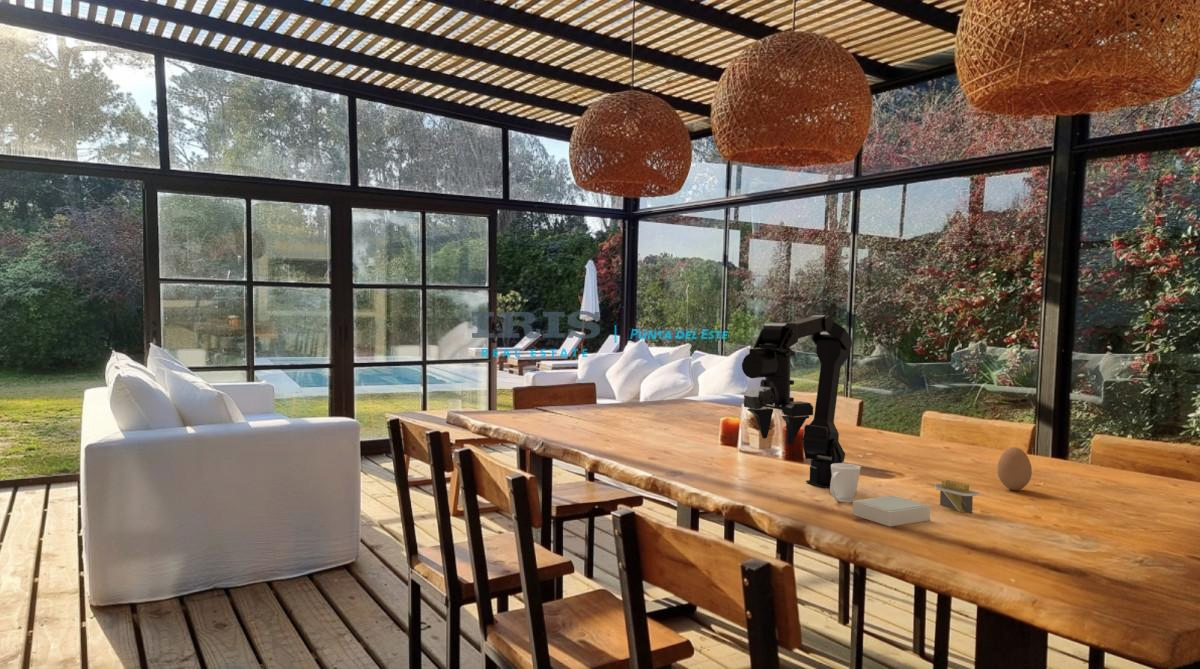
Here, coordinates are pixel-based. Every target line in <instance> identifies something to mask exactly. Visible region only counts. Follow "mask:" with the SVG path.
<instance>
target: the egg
mask: <svg viewBox="0 0 1200 669" xmlns="http://www.w3.org/2000/svg"><path fill="white" fill-rule="evenodd" d="M996 469H997V476H998V478H999V481H1000V482H1001V483H1002V485H1003V486H1004V487H1005V488H1007V489H1009V490H1011V491H1020V490H1022V489H1024V488H1025V487H1027V485H1028V484H1029V483H1030V482H1031V480H1032V475H1033V474H1032V473H1033V472H1032V471H1033V470H1032V463H1031V461H1030V459H1029V456H1028V455H1027V453H1026V452H1025V451H1024V450H1023V449H1021V448H1019V447H1016V446H1013V447H1009V448H1008V449H1005V450H1004V451H1003V453H1001V456H1000V458H999V459H998V462H997V468H996Z"/></svg>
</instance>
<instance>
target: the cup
mask: <svg viewBox="0 0 1200 669" xmlns="http://www.w3.org/2000/svg"><path fill="white" fill-rule="evenodd" d="M861 468H862V466H861V465H857V464H854V463H844V462H842V463H835V464H832V465H831V472H832V478H831V483H830V487H829V492H830V495H831V497H832V498H833V499H834V501H836V502H838V503H853V501H855V496H856V493H857V489H858V485H859V478H860V474H861Z"/></svg>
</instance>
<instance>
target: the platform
mask: <svg viewBox="0 0 1200 669" xmlns="http://www.w3.org/2000/svg"><path fill="white" fill-rule="evenodd" d="M935 489H936V490H937V491H940V492H939V493H940V497H939V505H940V506H942V507H946V508H950V509H954V510H957V511H958V512H959V513H964V512H966V513H969V514H973V503H974V502H973V499H974V498H973V497H978V496H980V493H979V491H973V490H970V484H966V483H963V482H959V481H958V482H957V481H953V480H949V479H945V480H941V483H937V484H935Z"/></svg>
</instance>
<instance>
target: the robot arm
mask: <svg viewBox="0 0 1200 669" xmlns="http://www.w3.org/2000/svg"><path fill="white" fill-rule="evenodd" d="M808 336H811V337H810V340H811V341H812V343H814V345H815V354H816V356H817V359H818V361H819V363H820V369H819V377H818V383H817V385H818V386H817V393H816V399H815V406H813V404H812V403H811V402H807V401H801V400H800V401H799V400H798V401H797V400H796V401H795V398H794V397H792V396H791V386H793V385H795V380H793V379H791V357H795V356H796V352H795V351H794V350H792V349H791V348H792V347H793V346H794V345H795V344H797V343H798V342H799V339H801V338H805V337H808ZM852 347H853V339H852V337H851V336H850V334H849V333H848V331H847V329H845V328H844V327H843V326H841V325H840V324H838V323H836V322H835V321H834V320H833V318H832V317H831V316H829V315H827V314H826V315H825V314H813V315H810V316H809V317H805V318H801V319H797V320H793V321H790V322H766V323H764V324H763V326H762V328H761V329H760V332H759V334H758V336H757V339H756V341H755V343H754V345H753V347H752V348H749V349H748V350H749V352H748V354H746V355H745V357H744V358H743V359H742V362H741V367H742V368H741V369H742V371H743V374H744V375H745V376H746V377H747V378H750V379H757V378H758V379H759V378H765V379H761V381H760V386H758V387H755V388H754V389H751V390H749V391H747V392H745V393H744V394H743V398H744V399H743V407H744V408H747V411H748V412H750V413H751V414H752V415H754V417H755V419H756V422H757V425H758V428H759V432H760V435H761V437H762V439H767V438H768V434H769V431H770V427H771V421H772V417H773V413H774V409H776V410H781V412H782V413H783V415H781V418H782V419H783V421H785V426H786V428H785V429H786V431H785V432H786V442H787V445H788V446H791V445H793V444H794V442H795V440H796V438H797V436H798V434H799V432H800V430H801V428H802V426H803V425H804V424H805V422H806V421H807V419H809V418H810V416H813V420H811V422H810V423H809V424H805V425H804V429H803V437H802V439H801V440H802V447H803V452H804V453H803V454H804V458H805V459H806V460H810V466H809V479H808V480H807V479H806V481H805V482H806V483H807V484H811V485H814V486H817V487H821V488H828V487H829V488H830V483H831V478H832V472H831V465H832V464H835V463H844V461H845V456H846V453H845V451H844V449H843V447H842V446H841V444H840V441H839V439H840V438H839V437H840V436H839V435H840V433H839V432H838V428H837V426H836V425H835V415H836V406H837V398H838V392H839V383H840V374H841V369H842V368H841V367H842V366H843V365H844V363H845V362H846V361H847V360H848V359H849V357H850V352H851V348H852Z"/></svg>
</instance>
